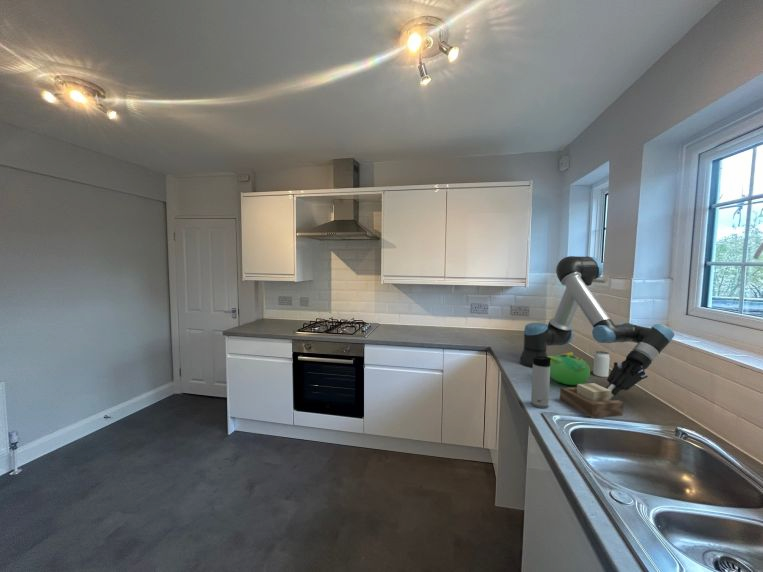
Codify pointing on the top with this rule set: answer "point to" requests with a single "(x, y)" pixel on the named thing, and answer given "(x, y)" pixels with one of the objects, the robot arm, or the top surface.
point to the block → (594, 392)
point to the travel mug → (540, 382)
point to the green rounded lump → (569, 369)
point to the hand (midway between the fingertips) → (604, 398)
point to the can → (601, 364)
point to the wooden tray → (590, 404)
